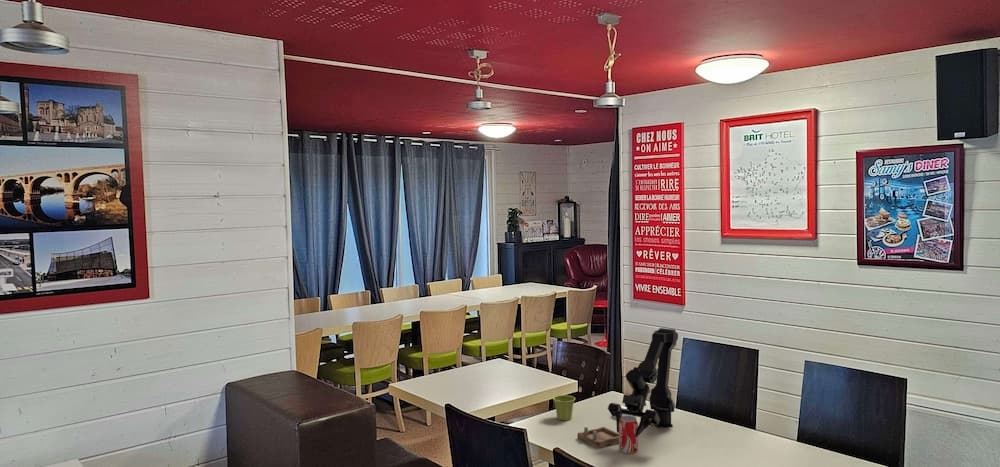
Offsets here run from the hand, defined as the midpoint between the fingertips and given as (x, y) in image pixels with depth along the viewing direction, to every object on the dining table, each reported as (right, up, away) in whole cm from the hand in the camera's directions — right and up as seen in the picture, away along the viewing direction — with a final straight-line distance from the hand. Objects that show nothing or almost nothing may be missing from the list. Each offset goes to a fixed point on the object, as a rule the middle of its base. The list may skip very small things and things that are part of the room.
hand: (626, 434), depth 232 cm
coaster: (+7, -5, +39) cm, 40 cm away
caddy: (-8, -6, +12) cm, 16 cm away
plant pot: (-19, -6, +38) cm, 43 cm away
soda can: (+1, -7, +1) cm, 7 cm away
